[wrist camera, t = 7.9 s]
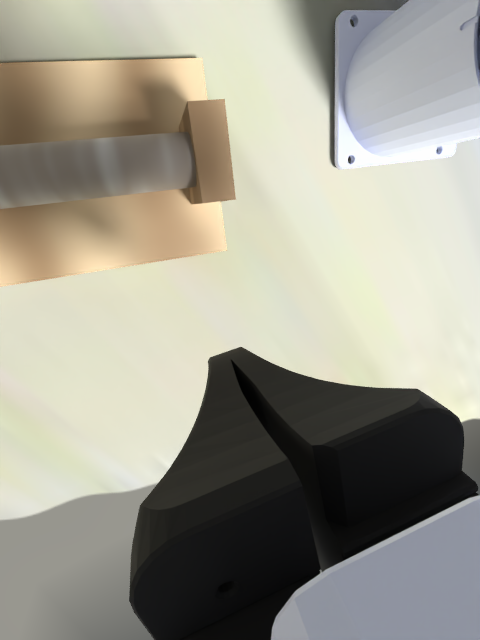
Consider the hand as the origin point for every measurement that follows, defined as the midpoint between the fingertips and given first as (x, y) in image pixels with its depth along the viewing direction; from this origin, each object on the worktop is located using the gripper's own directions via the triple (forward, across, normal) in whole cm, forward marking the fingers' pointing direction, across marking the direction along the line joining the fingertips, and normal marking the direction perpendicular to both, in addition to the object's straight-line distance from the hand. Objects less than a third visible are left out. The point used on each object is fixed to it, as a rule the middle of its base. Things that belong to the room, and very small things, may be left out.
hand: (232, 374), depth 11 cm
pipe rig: (+10, +6, -9) cm, 15 cm away
